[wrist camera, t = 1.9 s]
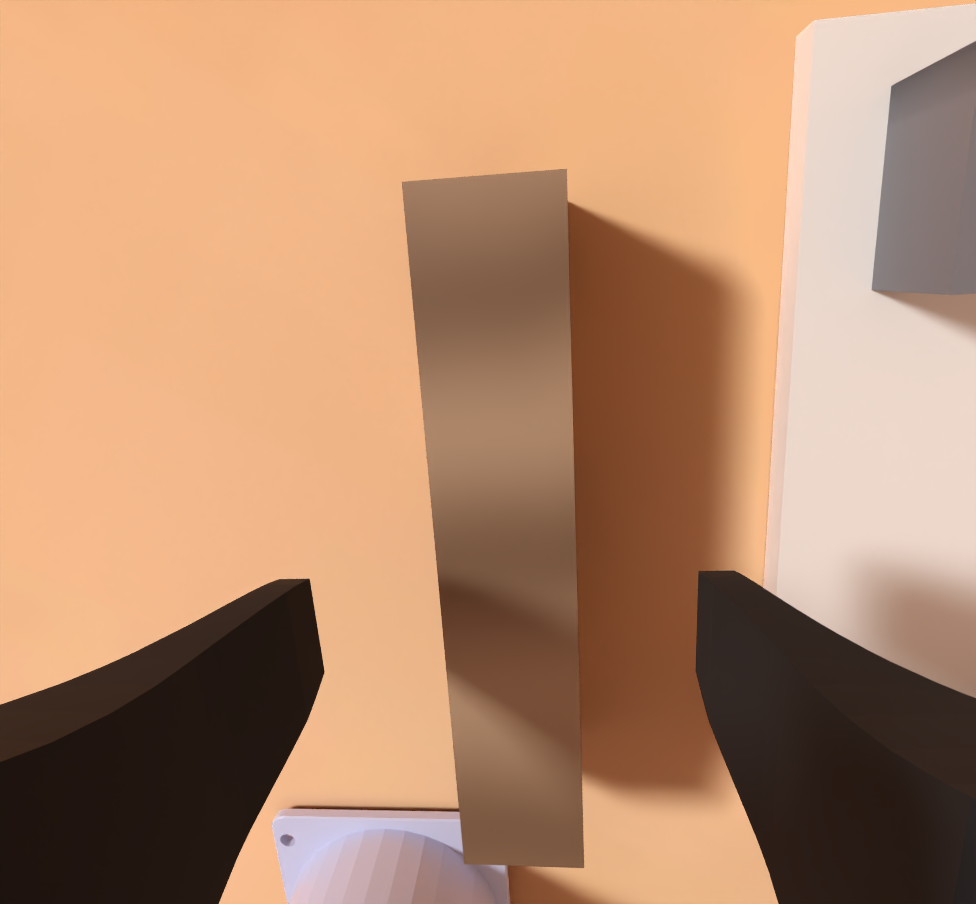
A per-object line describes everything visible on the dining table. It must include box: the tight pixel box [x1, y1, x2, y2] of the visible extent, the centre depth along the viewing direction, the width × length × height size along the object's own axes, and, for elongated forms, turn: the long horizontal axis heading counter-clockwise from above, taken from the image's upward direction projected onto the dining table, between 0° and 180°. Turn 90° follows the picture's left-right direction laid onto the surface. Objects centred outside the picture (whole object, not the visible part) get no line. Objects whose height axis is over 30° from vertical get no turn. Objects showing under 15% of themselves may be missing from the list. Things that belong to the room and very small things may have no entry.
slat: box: [402, 169, 584, 868], centre depth 16 cm, size 16×3×5 cm, turn 3°
